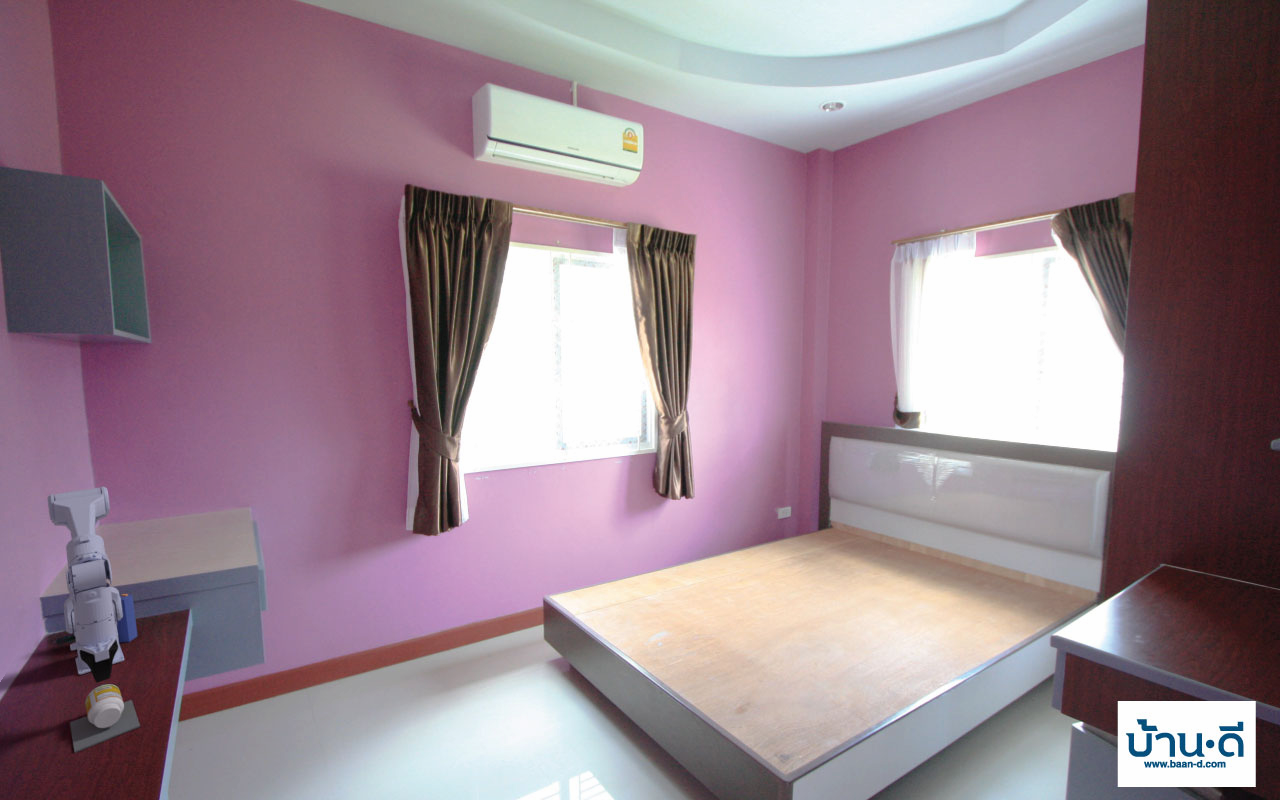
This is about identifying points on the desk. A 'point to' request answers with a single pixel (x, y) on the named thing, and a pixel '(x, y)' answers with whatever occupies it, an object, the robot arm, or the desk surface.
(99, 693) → the supplement bottle
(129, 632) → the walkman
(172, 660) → the desk surface
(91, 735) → the mat
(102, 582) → the robot arm
